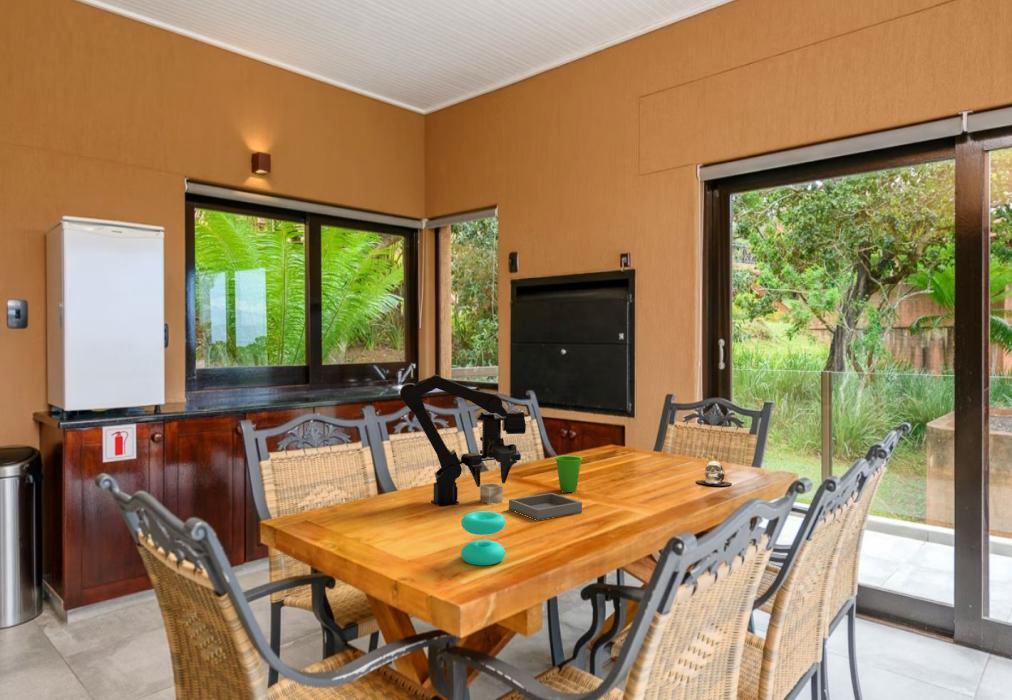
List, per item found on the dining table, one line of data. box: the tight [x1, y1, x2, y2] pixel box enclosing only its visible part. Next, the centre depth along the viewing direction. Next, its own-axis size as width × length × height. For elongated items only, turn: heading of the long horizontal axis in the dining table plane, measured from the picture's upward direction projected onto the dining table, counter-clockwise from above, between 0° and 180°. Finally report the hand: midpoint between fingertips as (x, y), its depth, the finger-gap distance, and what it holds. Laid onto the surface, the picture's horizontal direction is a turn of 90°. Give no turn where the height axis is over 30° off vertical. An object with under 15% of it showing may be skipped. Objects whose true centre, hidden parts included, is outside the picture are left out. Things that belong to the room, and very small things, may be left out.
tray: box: [508, 492, 583, 521], centre depth 187 cm, size 16×14×3 cm
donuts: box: [460, 510, 506, 566], centre depth 146 cm, size 10×10×10 cm
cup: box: [554, 455, 583, 493], centre depth 213 cm, size 9×9×11 cm
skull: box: [695, 460, 733, 486], centre depth 226 cm, size 12×10×10 cm
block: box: [479, 483, 504, 505], centre depth 198 cm, size 5×5×5 cm
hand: (491, 485), depth 198 cm, fingers open, 9 cm apart
